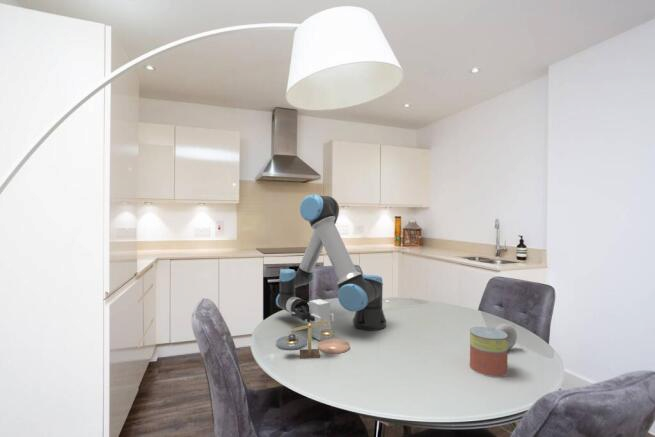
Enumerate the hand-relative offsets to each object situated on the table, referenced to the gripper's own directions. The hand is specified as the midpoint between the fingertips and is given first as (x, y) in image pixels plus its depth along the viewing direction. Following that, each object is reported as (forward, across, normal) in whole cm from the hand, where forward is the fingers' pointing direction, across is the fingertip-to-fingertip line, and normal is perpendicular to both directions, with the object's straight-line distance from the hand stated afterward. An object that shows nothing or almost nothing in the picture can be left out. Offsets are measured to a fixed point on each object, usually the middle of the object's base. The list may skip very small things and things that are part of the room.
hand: (326, 319), depth 134 cm
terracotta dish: (+7, +2, -8) cm, 11 cm away
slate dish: (-5, +13, -8) cm, 17 cm away
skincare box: (-5, 0, -9) cm, 10 cm away
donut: (+46, -49, -9) cm, 68 cm away
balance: (+8, +13, -8) cm, 18 cm away
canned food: (+51, -29, -9) cm, 59 cm away
